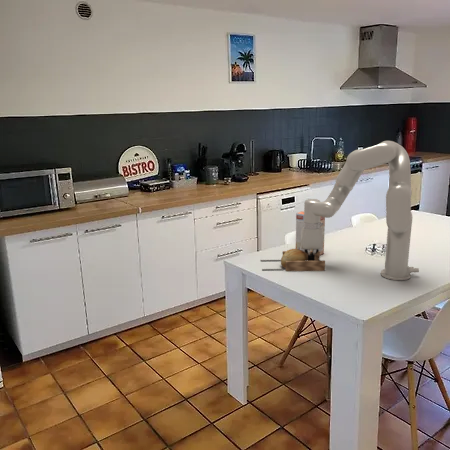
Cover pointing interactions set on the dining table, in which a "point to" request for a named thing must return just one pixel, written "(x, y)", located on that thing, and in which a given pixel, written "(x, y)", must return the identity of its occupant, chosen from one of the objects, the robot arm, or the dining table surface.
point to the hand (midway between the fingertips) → (311, 262)
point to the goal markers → (271, 269)
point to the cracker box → (301, 224)
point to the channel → (306, 264)
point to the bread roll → (293, 256)
